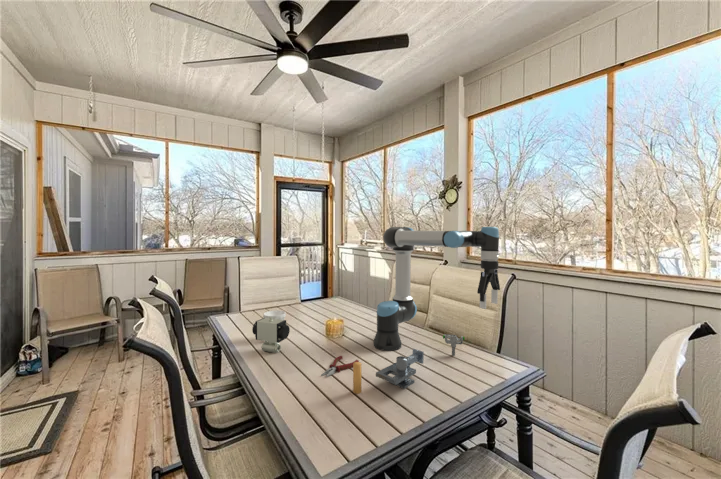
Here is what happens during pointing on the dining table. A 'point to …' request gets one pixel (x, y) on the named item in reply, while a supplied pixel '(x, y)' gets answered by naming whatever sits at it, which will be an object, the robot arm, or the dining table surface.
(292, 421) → the dining table surface
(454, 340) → the mechanical component
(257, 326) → the ball valve
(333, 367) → the pliers
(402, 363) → the grey toggle clamp
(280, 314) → the cup
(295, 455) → the dining table surface
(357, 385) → the orange rounded rod
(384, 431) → the dining table surface
